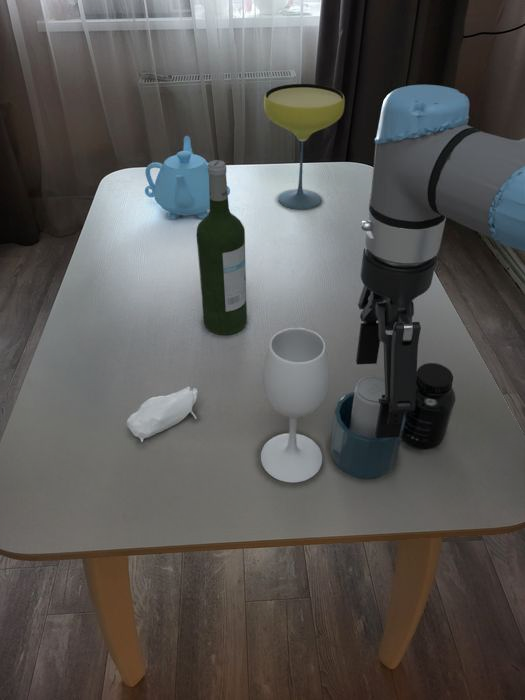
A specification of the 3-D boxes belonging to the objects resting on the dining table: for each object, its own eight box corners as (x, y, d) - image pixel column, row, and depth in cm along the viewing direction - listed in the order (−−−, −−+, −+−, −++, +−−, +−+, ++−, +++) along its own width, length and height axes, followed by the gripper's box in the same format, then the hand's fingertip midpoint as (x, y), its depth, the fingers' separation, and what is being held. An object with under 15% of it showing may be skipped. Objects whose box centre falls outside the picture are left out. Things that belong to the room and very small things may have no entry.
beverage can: (387, 451, 78) (401, 391, 71) (362, 467, 76) (373, 407, 69) (364, 430, 82) (375, 370, 74) (339, 444, 79) (347, 384, 72)
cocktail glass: (282, 222, 131) (285, 112, 115) (252, 191, 144) (251, 89, 127) (349, 208, 137) (360, 101, 120) (314, 179, 149) (320, 79, 133)
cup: (408, 450, 80) (418, 412, 74) (371, 490, 74) (380, 453, 69) (355, 418, 84) (361, 380, 79) (317, 454, 79) (321, 416, 74)
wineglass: (329, 478, 76) (343, 365, 62) (266, 487, 75) (267, 373, 61) (314, 430, 82) (324, 318, 69) (256, 438, 81) (255, 325, 68)
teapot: (183, 234, 127) (177, 175, 118) (138, 204, 138) (129, 148, 129) (238, 212, 135) (237, 155, 126) (191, 186, 146) (187, 132, 137)
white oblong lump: (178, 405, 88) (120, 423, 82) (187, 375, 84) (127, 392, 78) (194, 428, 86) (135, 448, 80) (204, 399, 82) (143, 418, 75)
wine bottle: (217, 305, 106) (207, 149, 87) (254, 316, 104) (252, 158, 84) (196, 328, 101) (179, 168, 81) (234, 340, 98) (227, 178, 79)
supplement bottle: (407, 409, 86) (422, 350, 78) (450, 429, 83) (469, 369, 75) (388, 437, 81) (401, 378, 74) (432, 459, 78) (451, 399, 71)
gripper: (345, 199, 67) (333, 337, 81) (390, 322, 48) (364, 475, 62) (407, 197, 67) (384, 335, 81) (476, 319, 48) (431, 472, 62)
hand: (375, 396), depth 72 cm, fingers open, 13 cm apart
